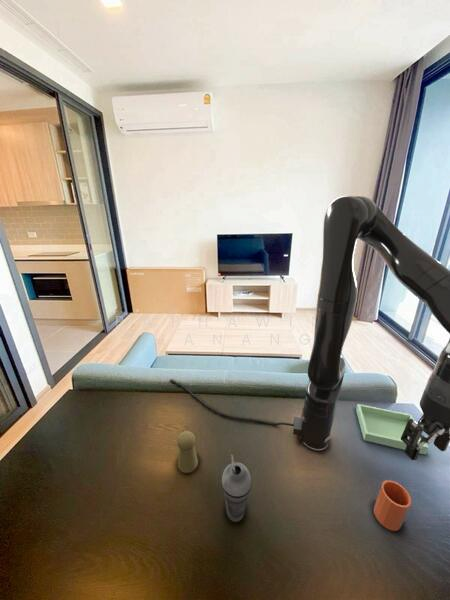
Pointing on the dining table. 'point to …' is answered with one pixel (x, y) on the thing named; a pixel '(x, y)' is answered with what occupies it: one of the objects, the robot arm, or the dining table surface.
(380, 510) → the terracotta cup
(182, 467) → the beige pawn figure
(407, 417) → the tray
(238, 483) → the beverage cup
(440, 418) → the robot arm
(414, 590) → the dining table surface
